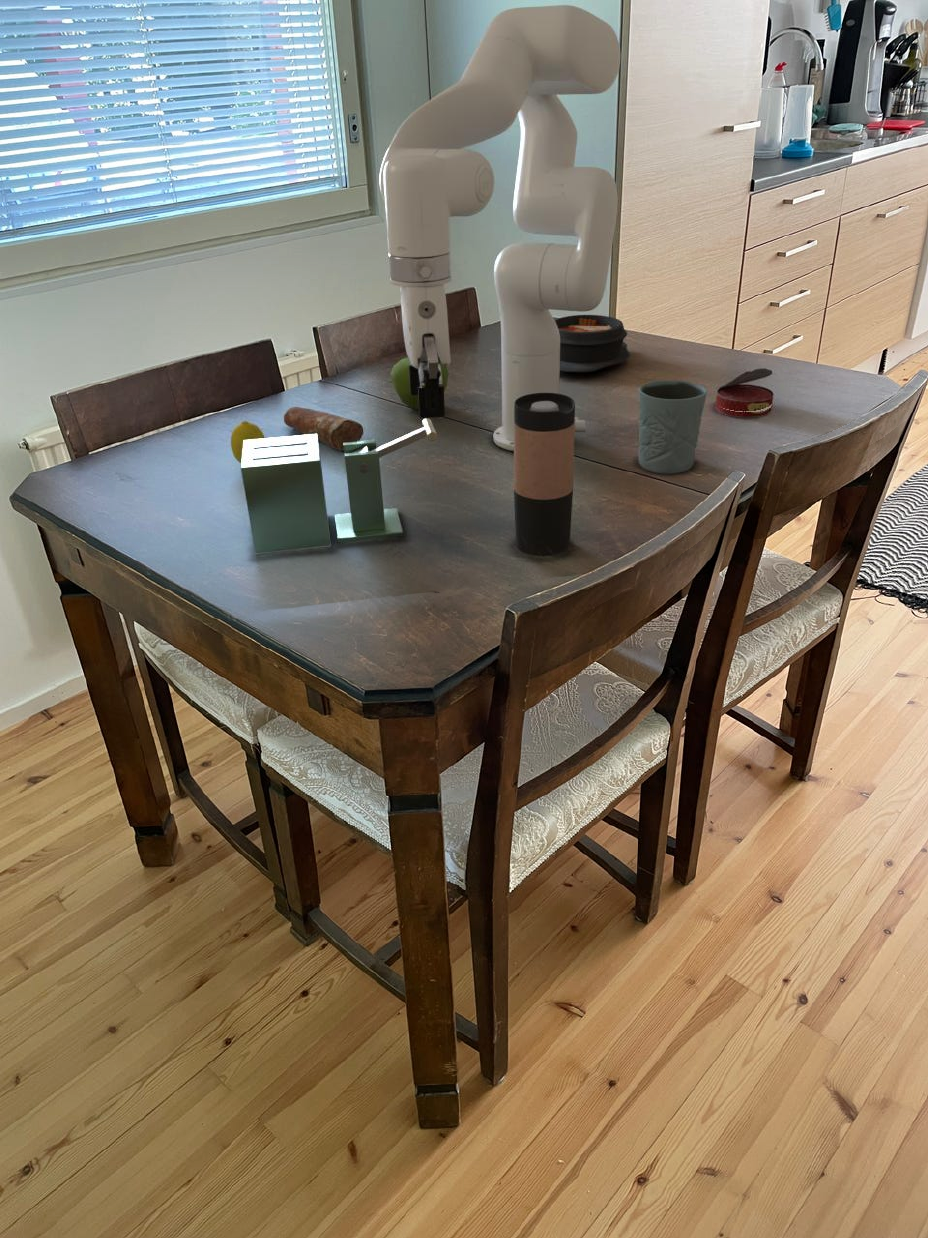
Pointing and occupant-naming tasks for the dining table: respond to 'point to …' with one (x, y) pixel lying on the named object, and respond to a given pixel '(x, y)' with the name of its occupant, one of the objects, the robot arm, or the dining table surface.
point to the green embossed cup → (669, 424)
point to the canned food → (745, 396)
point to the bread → (324, 426)
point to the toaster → (285, 494)
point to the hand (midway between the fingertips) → (427, 405)
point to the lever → (406, 439)
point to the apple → (403, 382)
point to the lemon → (244, 437)
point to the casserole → (591, 342)
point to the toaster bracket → (365, 498)
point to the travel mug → (543, 472)
